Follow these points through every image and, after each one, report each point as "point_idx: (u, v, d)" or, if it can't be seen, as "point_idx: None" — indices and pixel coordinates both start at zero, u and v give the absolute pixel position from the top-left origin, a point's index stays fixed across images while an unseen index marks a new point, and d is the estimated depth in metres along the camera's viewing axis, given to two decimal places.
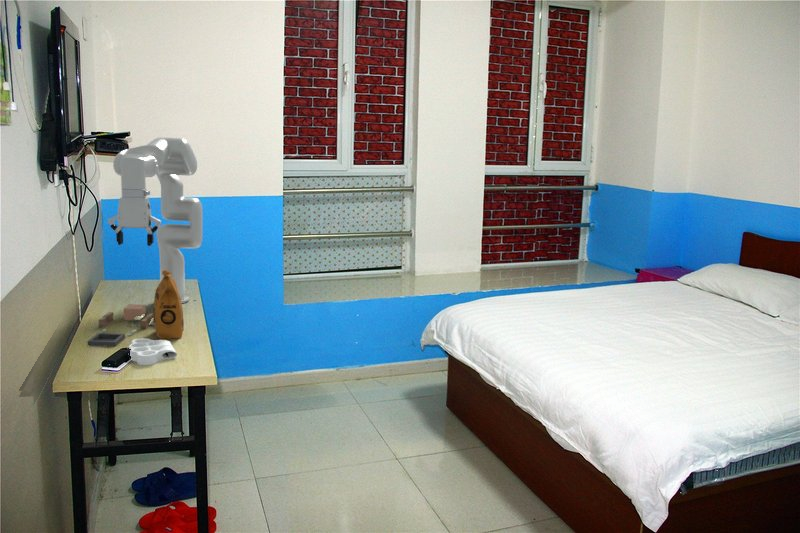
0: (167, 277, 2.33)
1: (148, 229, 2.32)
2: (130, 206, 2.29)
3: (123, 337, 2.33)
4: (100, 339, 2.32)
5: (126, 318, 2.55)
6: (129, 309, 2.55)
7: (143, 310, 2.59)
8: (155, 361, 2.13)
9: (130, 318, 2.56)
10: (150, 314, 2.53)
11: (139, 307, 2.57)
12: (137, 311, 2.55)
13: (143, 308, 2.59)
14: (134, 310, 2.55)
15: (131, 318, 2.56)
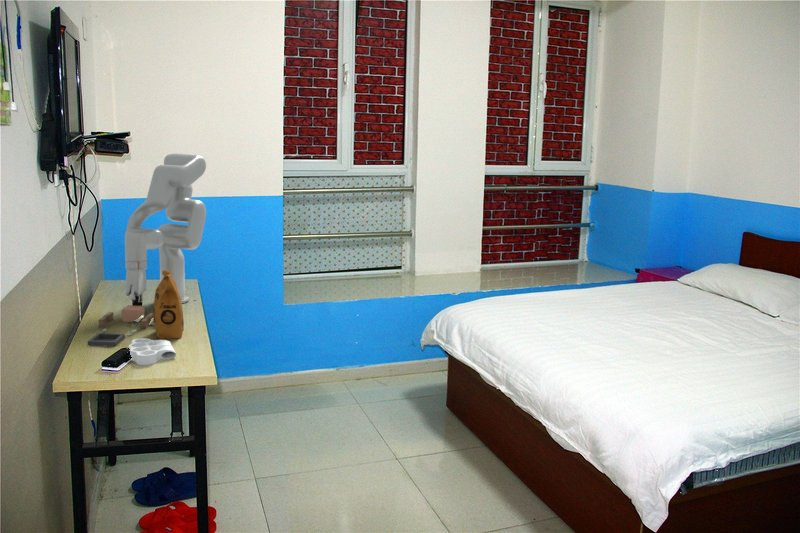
0: (167, 277, 2.33)
1: None
2: (143, 275, 2.59)
3: (123, 337, 2.33)
4: (100, 339, 2.32)
5: (124, 319, 2.54)
6: (127, 310, 2.53)
7: (141, 311, 2.57)
8: (154, 361, 2.13)
9: (128, 319, 2.54)
10: (150, 314, 2.53)
11: (137, 308, 2.55)
12: (134, 312, 2.53)
13: (141, 309, 2.56)
14: (132, 311, 2.53)
15: (129, 319, 2.54)
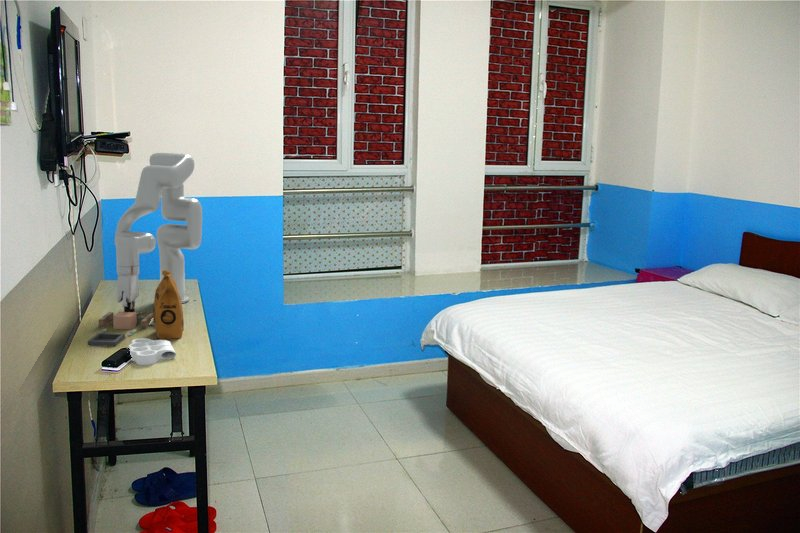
0: (167, 277, 2.33)
1: (134, 303, 2.53)
2: (135, 280, 2.50)
3: (123, 337, 2.33)
4: (100, 339, 2.32)
5: (116, 326, 2.45)
6: (119, 317, 2.44)
7: (134, 318, 2.48)
8: (154, 361, 2.13)
9: (120, 326, 2.45)
10: (150, 314, 2.53)
11: (129, 315, 2.46)
12: (127, 319, 2.44)
13: (134, 316, 2.48)
14: (124, 318, 2.44)
15: (121, 326, 2.45)
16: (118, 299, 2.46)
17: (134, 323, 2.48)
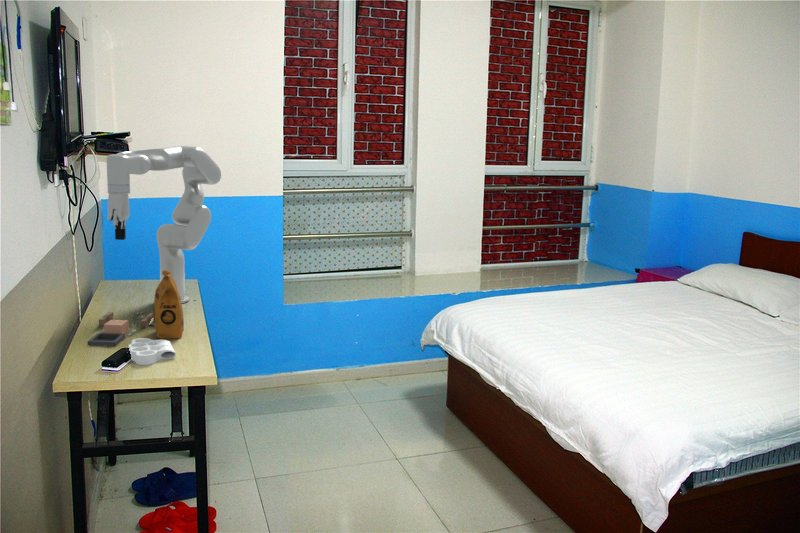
0: (167, 277, 2.33)
1: (125, 223, 2.55)
2: (125, 200, 2.51)
3: (123, 337, 2.33)
4: (100, 339, 2.32)
5: None
6: (110, 325, 2.35)
7: (125, 326, 2.38)
8: (153, 361, 2.13)
9: None
10: (150, 314, 2.53)
11: (121, 323, 2.36)
12: (118, 327, 2.35)
13: (125, 324, 2.38)
14: (115, 326, 2.35)
15: None
16: (109, 217, 2.48)
17: (126, 332, 2.39)
